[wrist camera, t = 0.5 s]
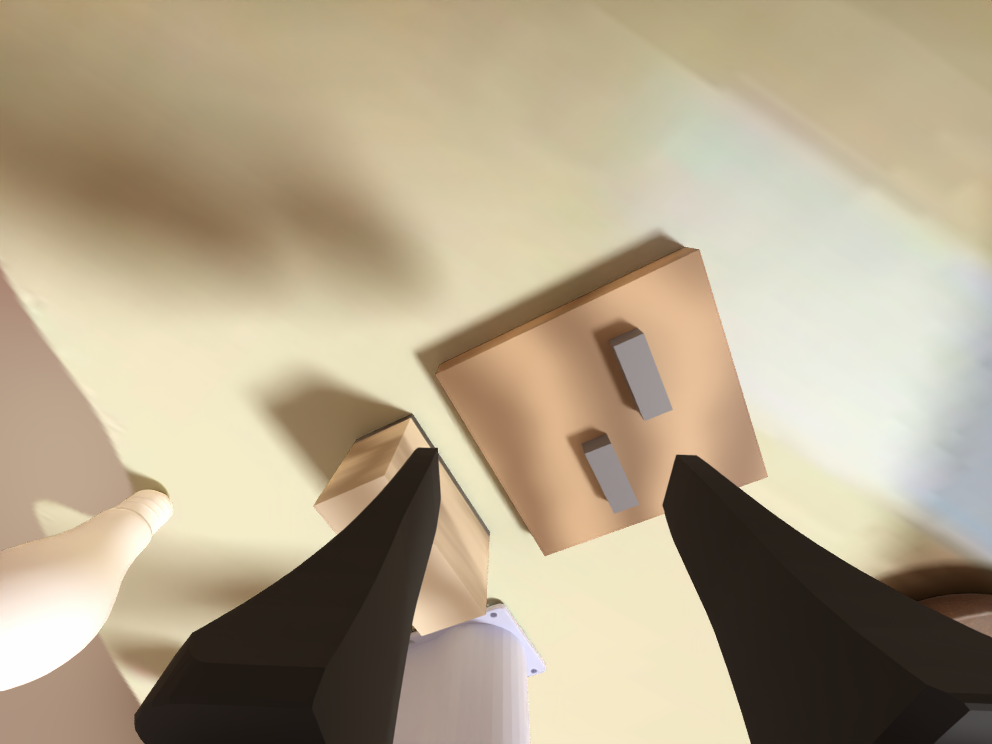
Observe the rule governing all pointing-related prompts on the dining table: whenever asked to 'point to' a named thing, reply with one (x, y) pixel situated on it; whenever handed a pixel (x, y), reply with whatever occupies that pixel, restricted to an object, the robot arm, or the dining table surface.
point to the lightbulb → (69, 585)
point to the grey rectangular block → (641, 374)
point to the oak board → (605, 401)
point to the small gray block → (609, 473)
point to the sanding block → (460, 531)
